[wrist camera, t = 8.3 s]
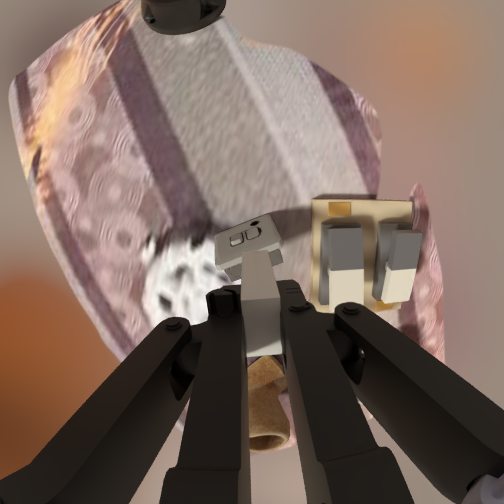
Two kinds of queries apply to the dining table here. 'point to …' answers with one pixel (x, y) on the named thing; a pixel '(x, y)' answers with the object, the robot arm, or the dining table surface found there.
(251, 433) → the tan piece
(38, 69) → the dining table surface
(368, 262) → the switch board
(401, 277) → the rocker
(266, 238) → the electrical switch
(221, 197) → the dining table surface
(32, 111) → the dining table surface
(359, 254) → the rocker
